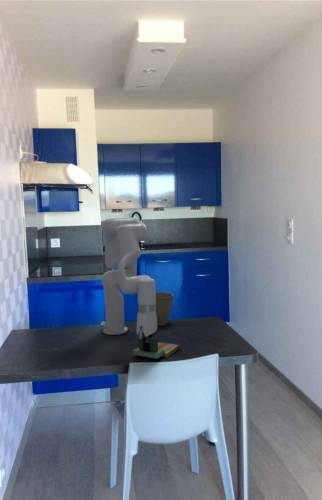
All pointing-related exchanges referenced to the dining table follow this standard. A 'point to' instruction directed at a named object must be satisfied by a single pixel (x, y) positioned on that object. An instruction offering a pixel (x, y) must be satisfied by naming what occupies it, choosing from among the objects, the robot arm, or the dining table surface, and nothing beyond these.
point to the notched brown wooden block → (168, 348)
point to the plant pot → (163, 307)
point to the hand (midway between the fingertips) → (148, 349)
